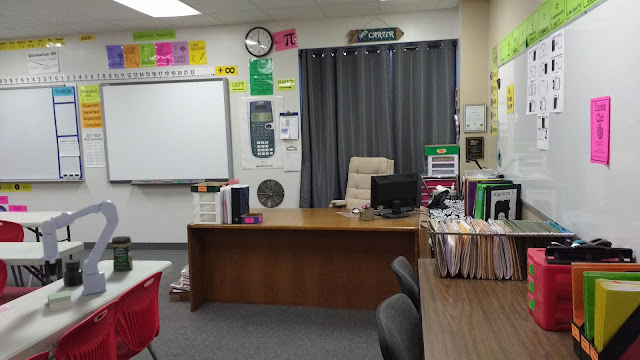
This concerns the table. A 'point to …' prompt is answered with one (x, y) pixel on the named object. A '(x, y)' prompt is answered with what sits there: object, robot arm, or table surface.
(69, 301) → the dish
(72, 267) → the ink bottle
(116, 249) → the coffee jar
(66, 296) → the lid
